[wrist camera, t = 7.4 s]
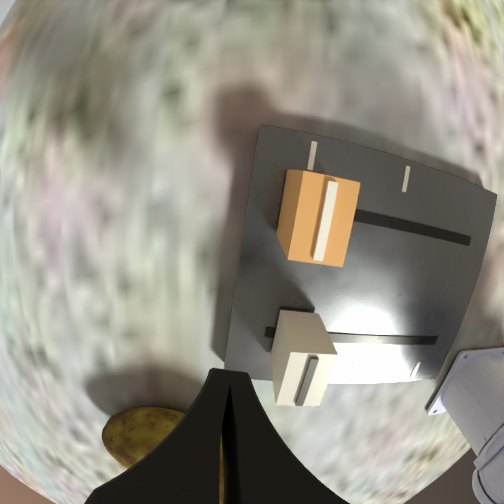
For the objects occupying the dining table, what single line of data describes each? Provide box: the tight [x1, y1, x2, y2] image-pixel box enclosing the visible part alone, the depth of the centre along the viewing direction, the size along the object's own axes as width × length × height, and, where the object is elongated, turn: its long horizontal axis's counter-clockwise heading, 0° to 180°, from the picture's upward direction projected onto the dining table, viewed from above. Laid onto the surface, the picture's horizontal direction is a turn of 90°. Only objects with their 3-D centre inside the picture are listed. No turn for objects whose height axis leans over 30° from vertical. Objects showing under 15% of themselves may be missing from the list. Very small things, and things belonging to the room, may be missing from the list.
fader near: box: [276, 169, 360, 267], centre depth 14 cm, size 2×4×5 cm, turn 172°
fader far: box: [270, 310, 338, 406], centre depth 16 cm, size 2×4×5 cm, turn 171°
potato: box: [102, 407, 224, 504], centre depth 19 cm, size 8×13×8 cm, turn 67°
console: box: [224, 124, 497, 383], centre depth 18 cm, size 18×16×2 cm
